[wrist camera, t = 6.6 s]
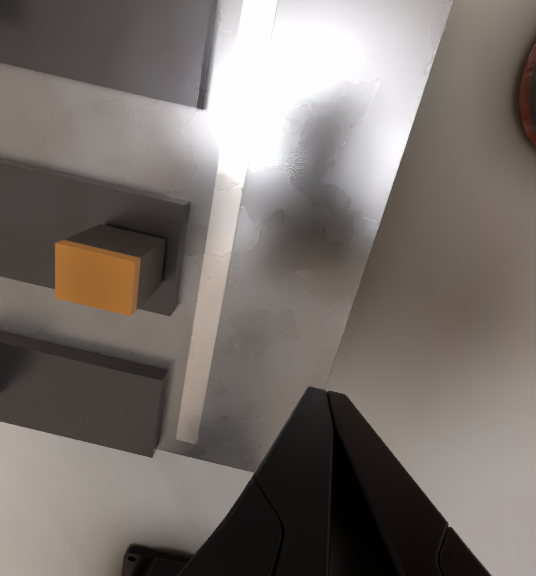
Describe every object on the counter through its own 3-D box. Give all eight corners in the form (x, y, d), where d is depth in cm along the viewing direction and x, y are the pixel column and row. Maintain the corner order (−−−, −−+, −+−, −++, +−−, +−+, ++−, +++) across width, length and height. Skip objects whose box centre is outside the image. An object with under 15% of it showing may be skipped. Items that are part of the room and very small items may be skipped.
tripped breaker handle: (160, 285, 14) (130, 316, 12) (98, 270, 14) (55, 298, 12) (165, 239, 13) (135, 262, 11) (100, 224, 13) (54, 243, 11)
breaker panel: (295, 457, 20) (291, 555, 15) (-149, 351, 20) (-286, 416, 15) (441, 2, 12) (523, -80, 8) (-276, -161, 12) (-620, -336, 8)
